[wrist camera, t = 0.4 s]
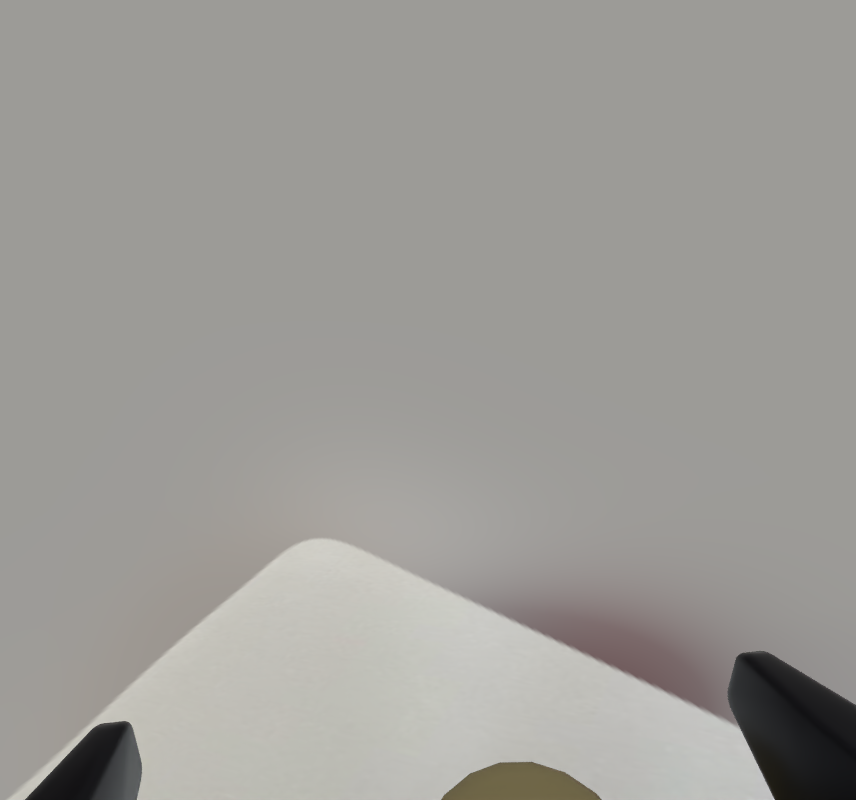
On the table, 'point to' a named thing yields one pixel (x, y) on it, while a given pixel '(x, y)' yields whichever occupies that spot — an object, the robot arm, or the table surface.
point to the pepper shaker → (519, 784)
